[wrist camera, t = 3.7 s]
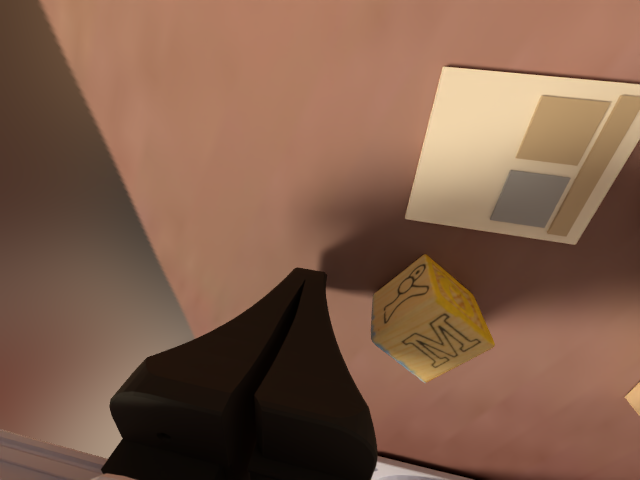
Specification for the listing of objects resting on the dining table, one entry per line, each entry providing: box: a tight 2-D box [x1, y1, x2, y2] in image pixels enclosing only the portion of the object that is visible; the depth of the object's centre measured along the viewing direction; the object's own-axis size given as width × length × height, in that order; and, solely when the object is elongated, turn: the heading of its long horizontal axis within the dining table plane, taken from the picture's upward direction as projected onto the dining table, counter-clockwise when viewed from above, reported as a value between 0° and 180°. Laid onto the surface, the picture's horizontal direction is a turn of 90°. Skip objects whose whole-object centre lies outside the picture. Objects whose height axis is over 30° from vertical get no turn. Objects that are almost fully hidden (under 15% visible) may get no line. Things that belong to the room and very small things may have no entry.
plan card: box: [405, 67, 640, 245], centre depth 10 cm, size 5×6×1 cm
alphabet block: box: [371, 254, 495, 383], centre depth 12 cm, size 3×3×3 cm
